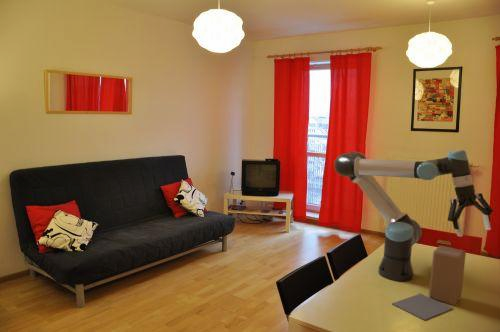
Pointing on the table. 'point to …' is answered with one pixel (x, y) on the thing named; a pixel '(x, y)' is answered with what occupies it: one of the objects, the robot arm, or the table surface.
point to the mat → (422, 306)
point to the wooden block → (447, 274)
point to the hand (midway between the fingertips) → (474, 233)
